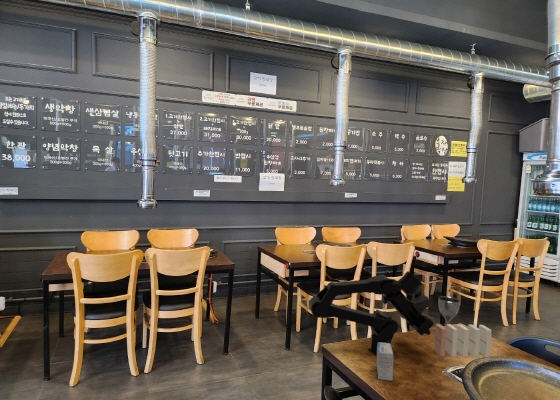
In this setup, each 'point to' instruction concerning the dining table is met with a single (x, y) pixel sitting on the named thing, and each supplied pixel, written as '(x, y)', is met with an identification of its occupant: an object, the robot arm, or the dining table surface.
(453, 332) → the domino
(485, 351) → the domino
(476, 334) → the domino
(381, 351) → the medicine box
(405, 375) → the dining table surface
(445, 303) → the wine glass
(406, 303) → the robot arm
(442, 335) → the domino
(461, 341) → the domino
